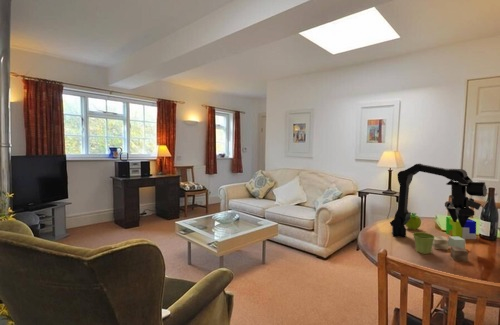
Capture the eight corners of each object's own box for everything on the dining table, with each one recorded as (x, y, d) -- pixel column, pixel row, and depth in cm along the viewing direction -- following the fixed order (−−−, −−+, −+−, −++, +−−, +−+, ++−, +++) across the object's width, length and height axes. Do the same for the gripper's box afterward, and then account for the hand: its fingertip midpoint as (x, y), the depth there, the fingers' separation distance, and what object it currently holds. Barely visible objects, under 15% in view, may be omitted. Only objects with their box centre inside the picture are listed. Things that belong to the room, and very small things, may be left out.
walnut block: (454, 260, 121) (454, 250, 120) (450, 256, 125) (450, 246, 125) (467, 262, 119) (467, 251, 119) (463, 257, 124) (463, 247, 123)
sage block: (454, 249, 133) (454, 239, 133) (448, 245, 138) (448, 236, 138) (465, 249, 133) (465, 239, 132) (458, 245, 138) (458, 236, 137)
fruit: (422, 228, 166) (421, 213, 166) (419, 232, 160) (419, 216, 159) (405, 225, 173) (405, 211, 172) (402, 229, 166) (402, 214, 165)
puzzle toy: (476, 239, 145) (476, 221, 145) (455, 238, 147) (455, 221, 147) (465, 233, 155) (465, 217, 154) (446, 232, 157) (446, 216, 156)
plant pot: (435, 257, 125) (435, 239, 125) (412, 253, 130) (412, 236, 130) (434, 250, 133) (434, 233, 133) (412, 247, 138) (412, 231, 138)
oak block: (434, 248, 135) (434, 239, 135) (431, 244, 140) (431, 235, 140) (448, 250, 133) (448, 240, 132) (444, 245, 138) (444, 236, 138)
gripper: (488, 198, 118) (488, 231, 119) (469, 191, 136) (469, 220, 137) (459, 197, 122) (459, 230, 123) (444, 191, 140) (444, 219, 141)
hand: (458, 224), depth 131 cm, fingers open, 9 cm apart
